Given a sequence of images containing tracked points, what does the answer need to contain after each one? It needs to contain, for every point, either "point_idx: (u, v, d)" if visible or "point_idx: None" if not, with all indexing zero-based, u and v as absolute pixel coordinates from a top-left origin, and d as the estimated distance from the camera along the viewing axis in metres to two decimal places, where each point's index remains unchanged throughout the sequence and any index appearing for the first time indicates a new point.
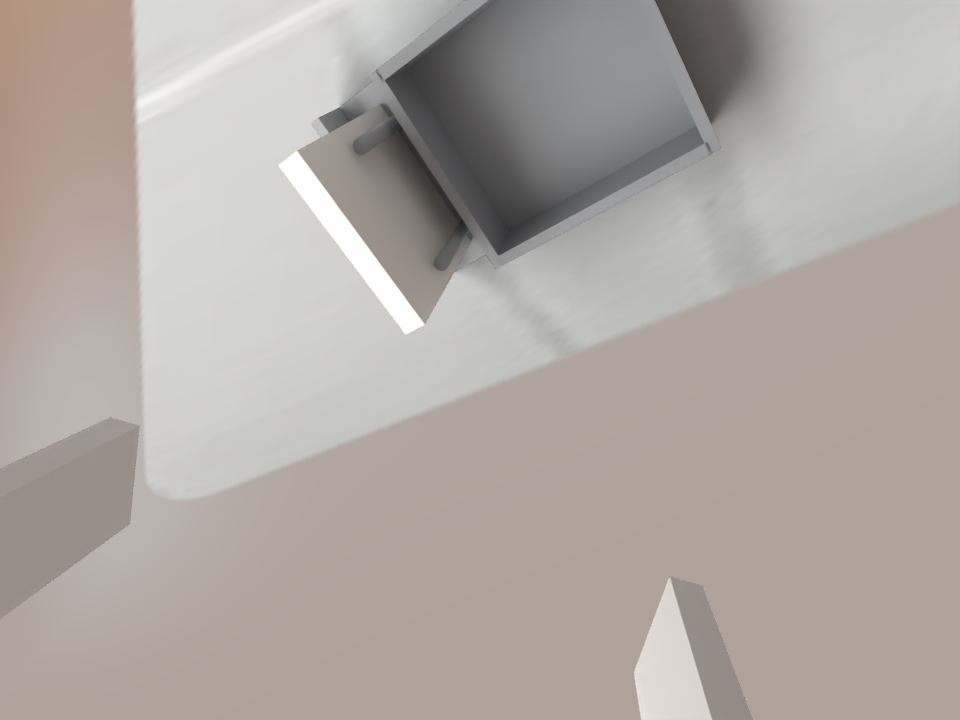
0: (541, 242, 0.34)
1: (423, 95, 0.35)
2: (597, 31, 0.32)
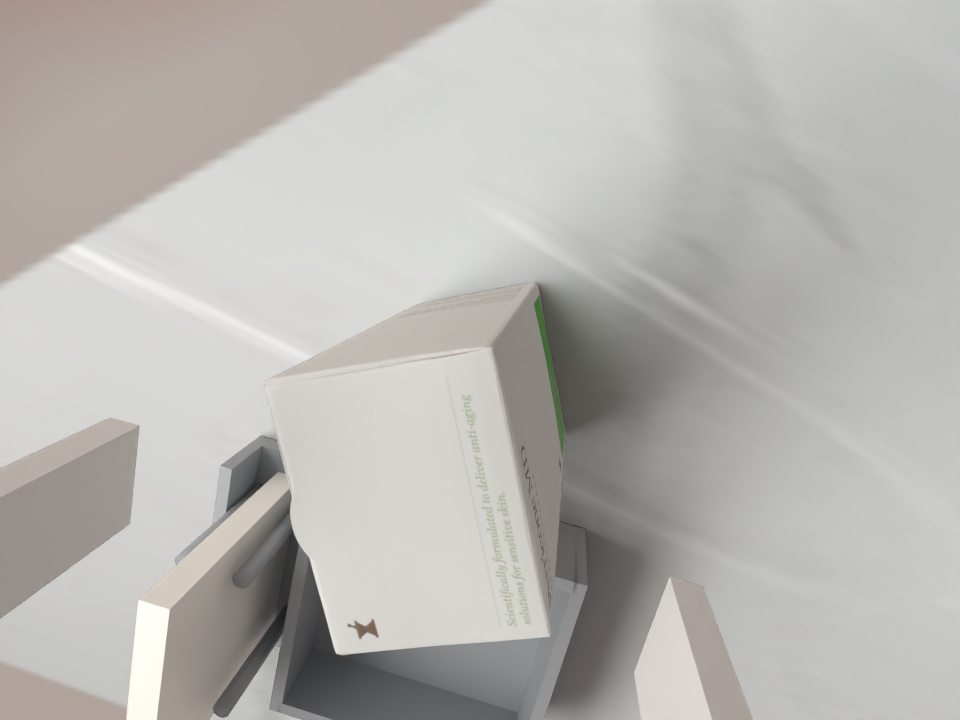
0: None
1: None
2: None
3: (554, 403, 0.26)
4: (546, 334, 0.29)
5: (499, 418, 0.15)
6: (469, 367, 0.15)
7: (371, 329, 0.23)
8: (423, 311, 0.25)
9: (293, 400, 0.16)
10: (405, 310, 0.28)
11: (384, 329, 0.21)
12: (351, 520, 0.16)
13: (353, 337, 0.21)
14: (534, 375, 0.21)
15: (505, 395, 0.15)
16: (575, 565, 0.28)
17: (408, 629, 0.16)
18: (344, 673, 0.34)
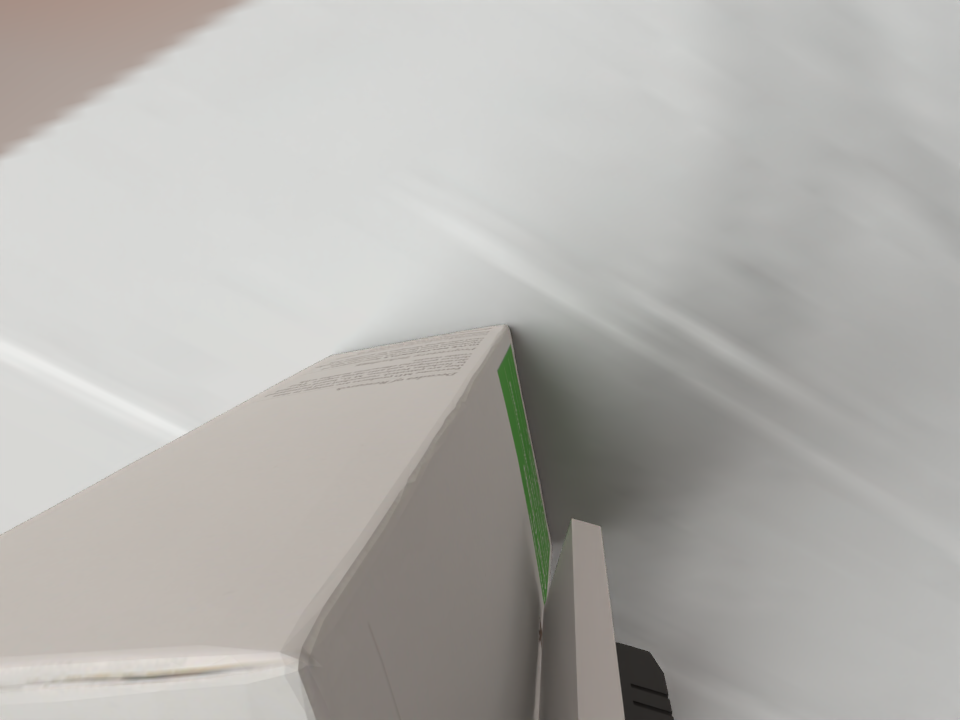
0: None
1: None
2: None
3: (532, 525, 0.17)
4: (521, 405, 0.19)
5: None
6: (233, 717, 0.05)
7: (200, 430, 0.13)
8: (313, 384, 0.15)
9: None
10: (300, 371, 0.18)
11: (208, 440, 0.11)
12: None
13: (148, 456, 0.11)
14: (486, 536, 0.11)
15: None
16: None
17: None
18: None
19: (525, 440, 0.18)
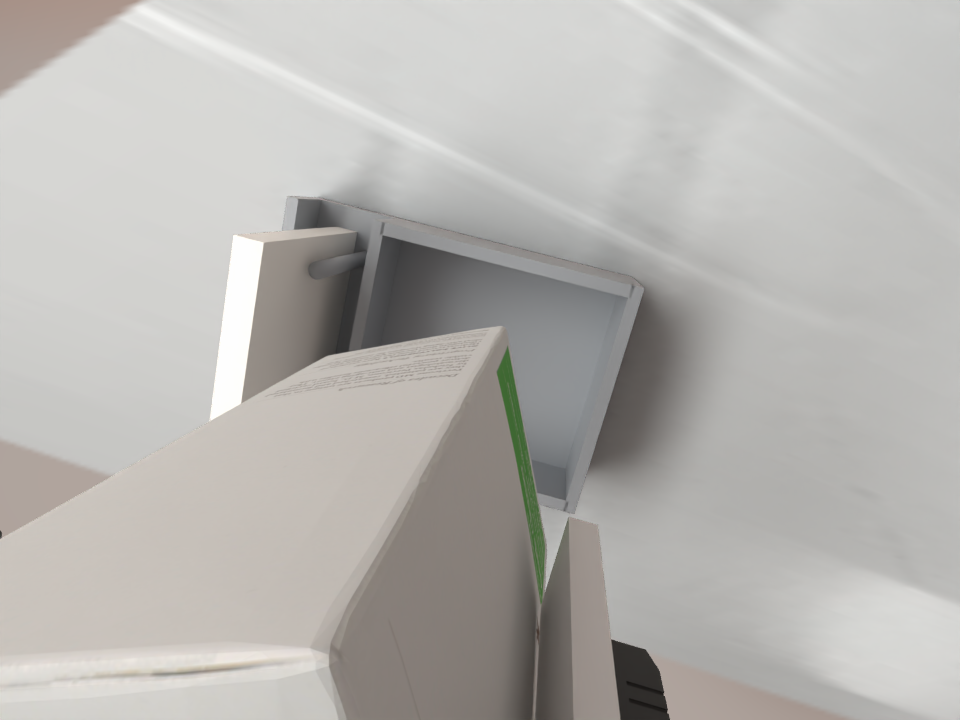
0: None
1: (397, 260, 0.34)
2: (557, 346, 0.34)
3: (529, 525, 0.17)
4: (518, 406, 0.19)
5: None
6: (263, 711, 0.05)
7: (203, 429, 0.13)
8: (314, 384, 0.15)
9: None
10: (299, 371, 0.18)
11: (212, 440, 0.11)
12: None
13: (152, 456, 0.11)
14: (490, 536, 0.11)
15: None
16: (629, 282, 0.30)
17: None
18: None
19: (522, 441, 0.18)
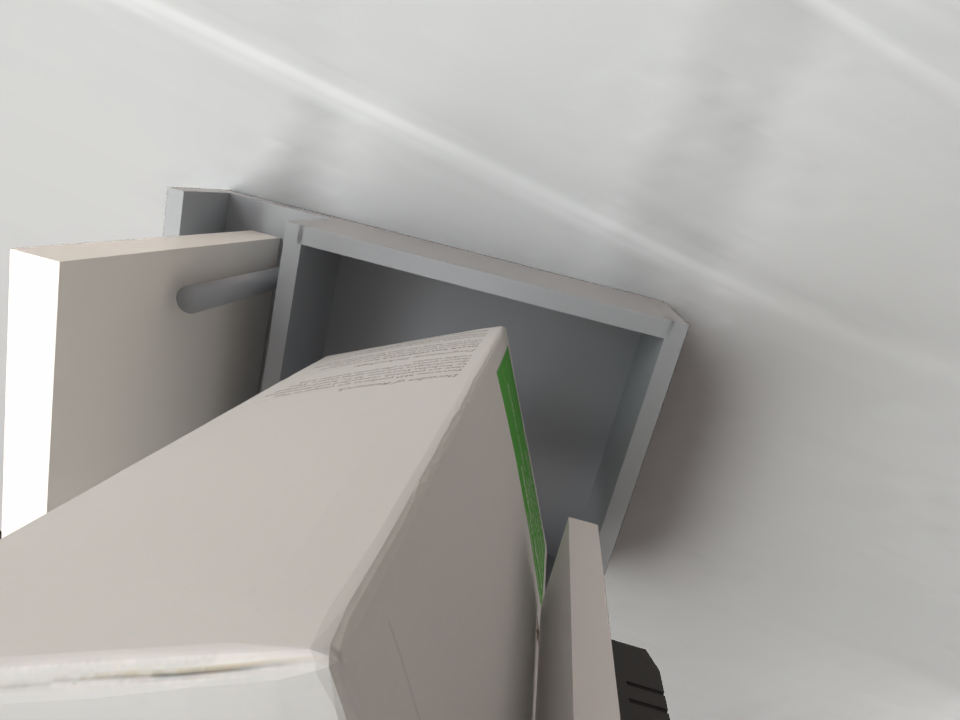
0: None
1: (335, 277, 0.24)
2: (558, 398, 0.24)
3: (529, 525, 0.17)
4: (518, 406, 0.19)
5: None
6: (263, 713, 0.05)
7: (203, 430, 0.13)
8: (313, 384, 0.15)
9: None
10: (298, 372, 0.18)
11: (212, 440, 0.11)
12: None
13: (151, 456, 0.11)
14: (490, 536, 0.11)
15: None
16: (664, 313, 0.20)
17: None
18: None
19: (522, 441, 0.18)
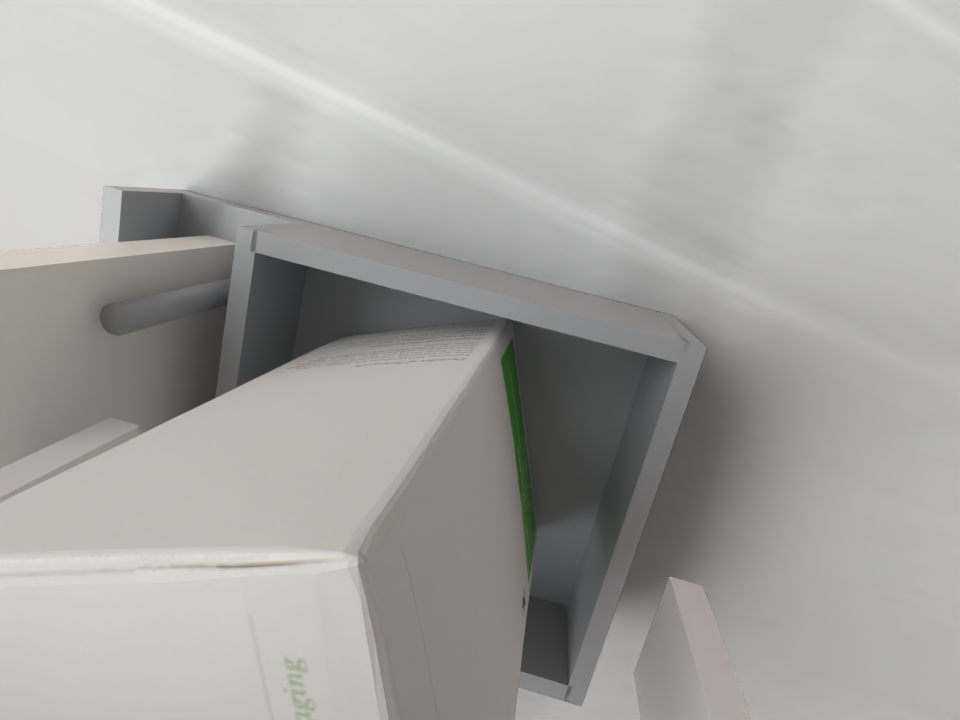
0: None
1: (303, 288, 0.21)
2: (555, 424, 0.21)
3: (522, 503, 0.18)
4: (519, 394, 0.20)
5: (371, 714, 0.06)
6: (304, 599, 0.06)
7: (232, 393, 0.14)
8: (332, 360, 0.16)
9: None
10: (317, 349, 0.19)
11: (243, 402, 0.13)
12: None
13: (188, 413, 0.13)
14: (486, 502, 0.12)
15: (388, 661, 0.06)
16: (677, 332, 0.18)
17: None
18: None
19: (520, 426, 0.19)
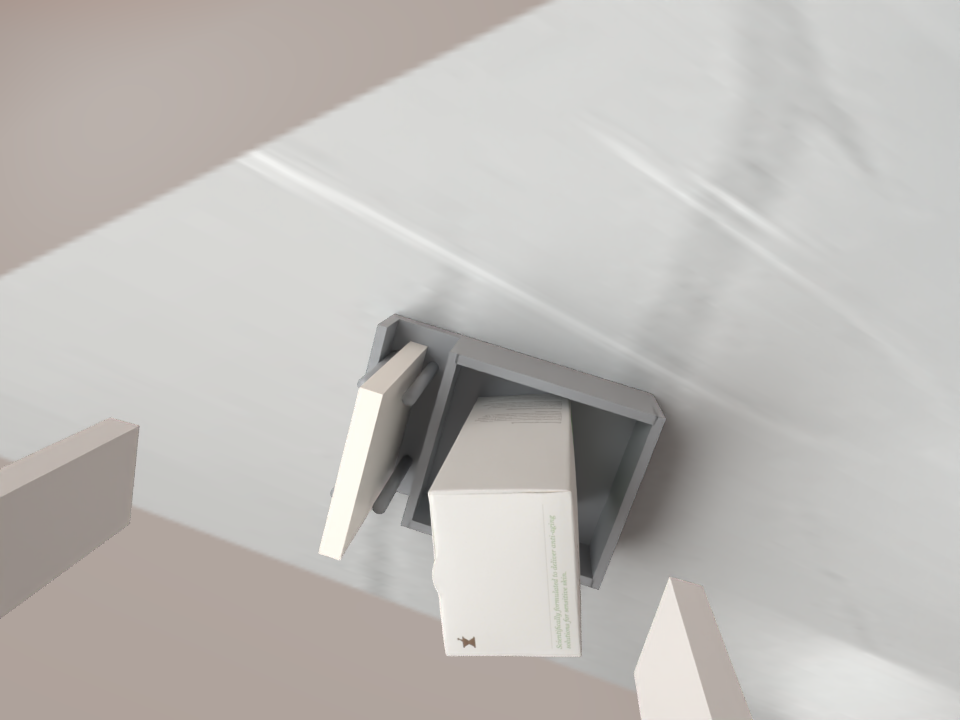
0: None
1: (459, 371, 0.41)
2: (588, 447, 0.41)
3: None
4: None
5: (569, 530, 0.26)
6: (557, 500, 0.25)
7: (465, 434, 0.33)
8: (495, 417, 0.36)
9: (447, 505, 0.26)
10: (475, 407, 0.38)
11: (478, 440, 0.32)
12: (471, 577, 0.27)
13: (457, 443, 0.32)
14: None
15: (574, 517, 0.26)
16: (653, 408, 0.37)
17: (495, 644, 0.27)
18: None
19: None
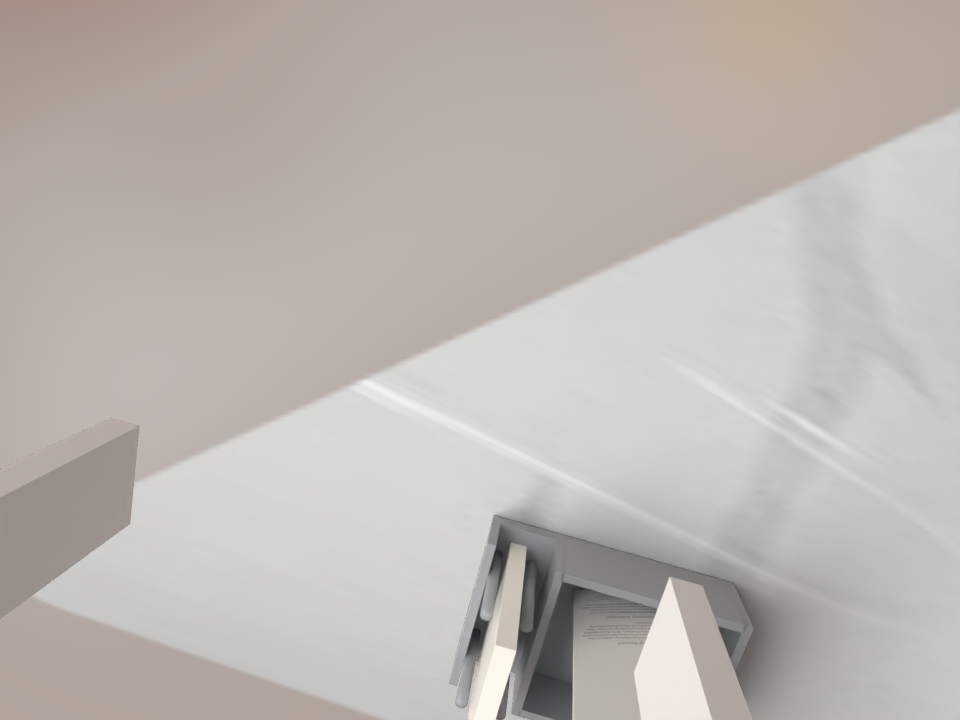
0: None
1: None
2: None
3: None
4: None
5: None
6: None
7: (580, 662, 0.38)
8: (600, 632, 0.40)
9: None
10: (576, 610, 0.43)
11: (595, 674, 0.36)
12: None
13: (577, 678, 0.36)
14: None
15: None
16: (739, 612, 0.41)
17: None
18: (552, 687, 0.46)
19: None
